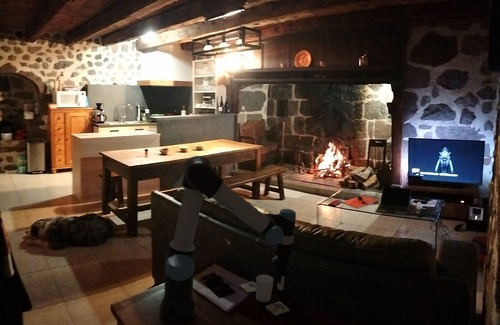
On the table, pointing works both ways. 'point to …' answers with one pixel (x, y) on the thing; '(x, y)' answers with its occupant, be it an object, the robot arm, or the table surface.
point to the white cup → (264, 288)
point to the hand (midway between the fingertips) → (280, 288)
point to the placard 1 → (249, 287)
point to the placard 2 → (277, 308)
